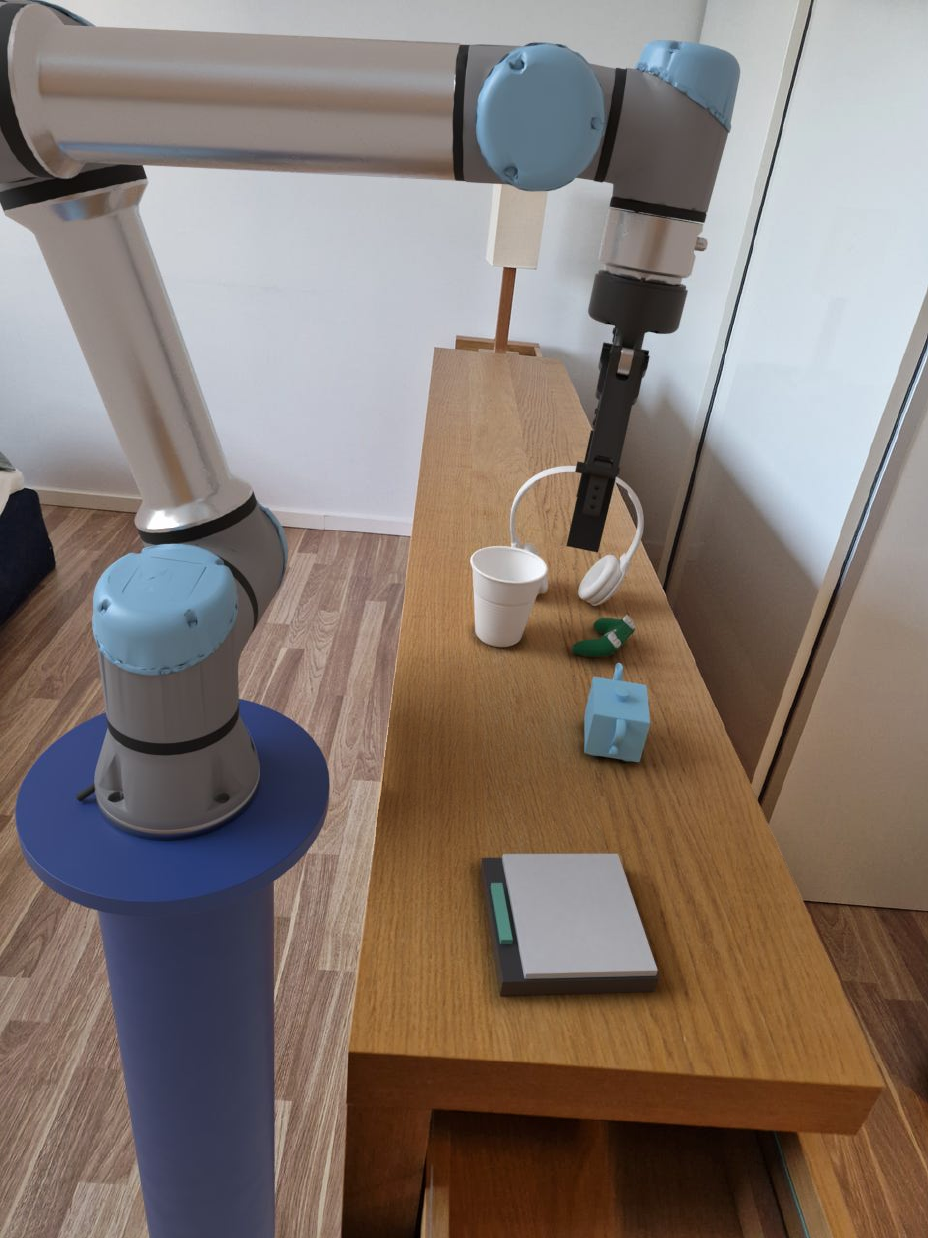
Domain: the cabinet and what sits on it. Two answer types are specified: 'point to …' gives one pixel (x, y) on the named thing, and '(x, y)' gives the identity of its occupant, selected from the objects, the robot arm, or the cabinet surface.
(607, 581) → the headphones
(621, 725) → the teapot
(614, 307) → the robot arm
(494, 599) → the cup
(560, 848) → the cabinet surface
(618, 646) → the green christmas socks
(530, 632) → the cabinet surface
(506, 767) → the cabinet surface
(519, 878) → the scale
